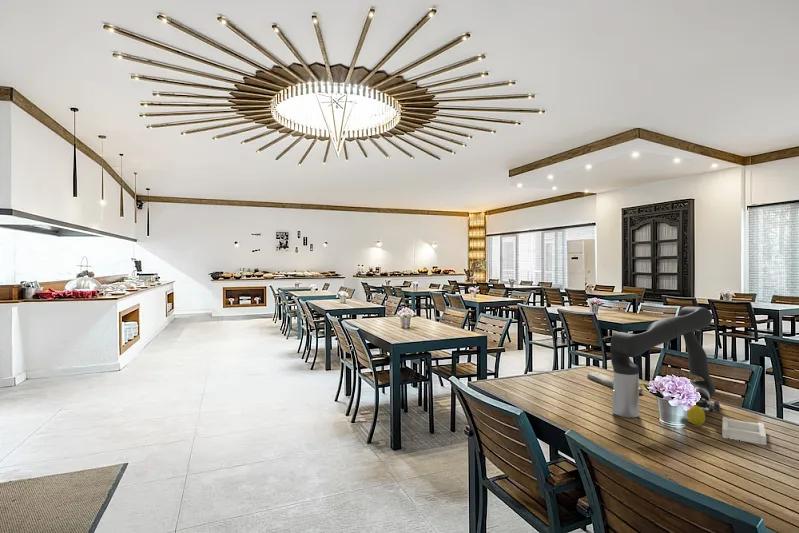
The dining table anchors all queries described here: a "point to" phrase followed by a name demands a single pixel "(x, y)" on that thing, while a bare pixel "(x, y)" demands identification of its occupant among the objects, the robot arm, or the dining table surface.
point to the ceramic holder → (744, 431)
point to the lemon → (696, 415)
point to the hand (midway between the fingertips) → (696, 408)
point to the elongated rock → (605, 379)
